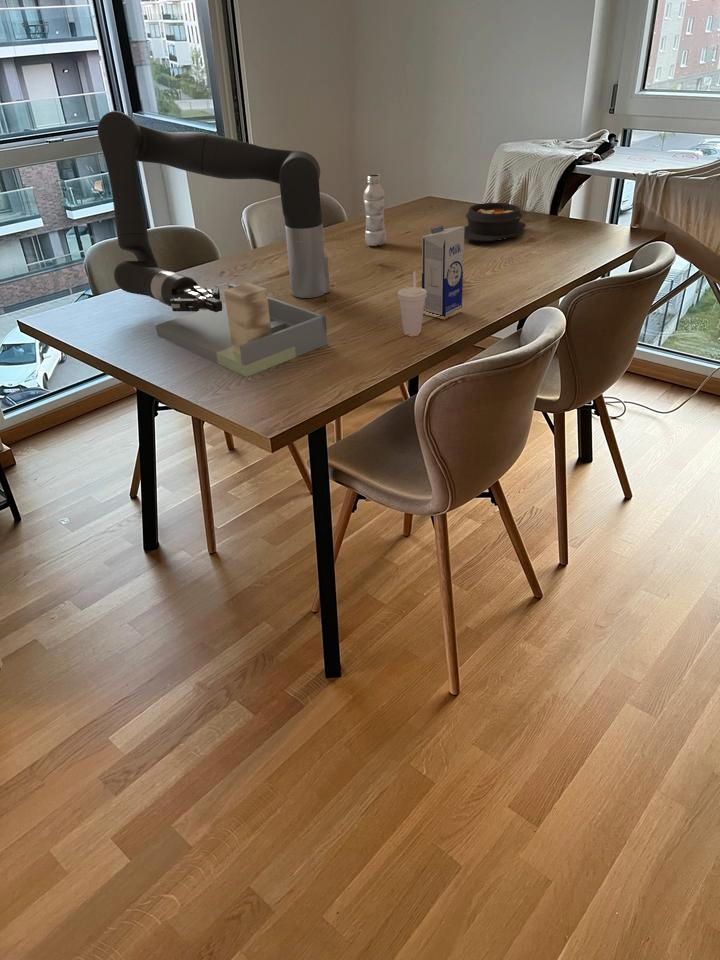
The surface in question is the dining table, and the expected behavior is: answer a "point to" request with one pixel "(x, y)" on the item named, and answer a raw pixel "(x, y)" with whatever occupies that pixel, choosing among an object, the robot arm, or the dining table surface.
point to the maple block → (247, 314)
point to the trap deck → (287, 340)
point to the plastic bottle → (374, 211)
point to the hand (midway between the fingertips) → (219, 306)
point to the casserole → (493, 222)
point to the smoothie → (412, 307)
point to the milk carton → (443, 269)
